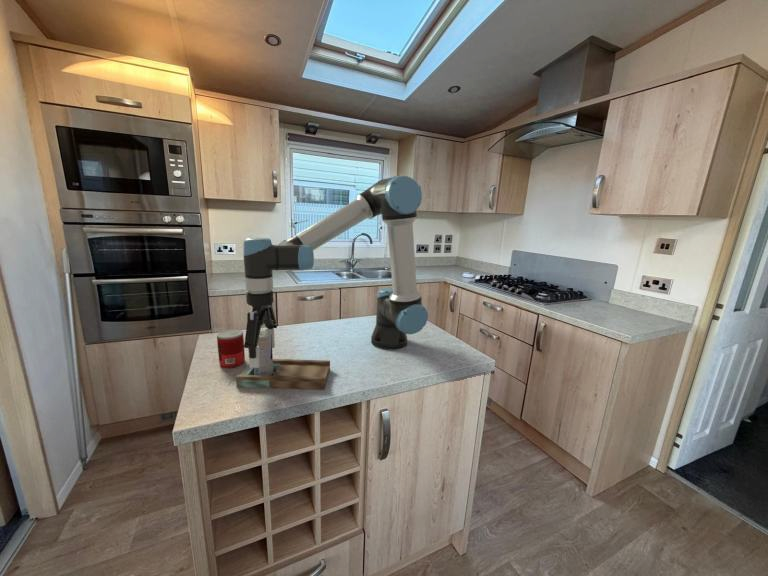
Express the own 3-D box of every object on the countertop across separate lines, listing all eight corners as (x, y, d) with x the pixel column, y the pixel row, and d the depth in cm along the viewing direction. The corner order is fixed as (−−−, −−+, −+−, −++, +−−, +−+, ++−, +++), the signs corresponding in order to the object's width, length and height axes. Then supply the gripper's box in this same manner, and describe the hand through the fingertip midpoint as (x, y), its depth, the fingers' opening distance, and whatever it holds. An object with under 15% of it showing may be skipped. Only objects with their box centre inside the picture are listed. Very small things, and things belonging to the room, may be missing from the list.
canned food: (249, 361, 108) (248, 332, 105) (228, 370, 101) (226, 339, 98) (236, 355, 111) (234, 327, 109) (214, 364, 105) (211, 334, 102)
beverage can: (276, 377, 98) (275, 333, 95) (259, 384, 94) (257, 338, 91) (267, 371, 102) (266, 328, 98) (251, 377, 98) (248, 333, 94)
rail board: (330, 370, 104) (330, 360, 104) (324, 389, 93) (324, 379, 92) (252, 367, 104) (251, 358, 103) (236, 387, 92) (235, 376, 91)
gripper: (262, 281, 103) (265, 340, 108) (227, 301, 79) (232, 376, 84) (284, 282, 104) (286, 341, 108) (256, 302, 79) (260, 377, 84)
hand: (263, 356), depth 96 cm, fingers open, 13 cm apart
